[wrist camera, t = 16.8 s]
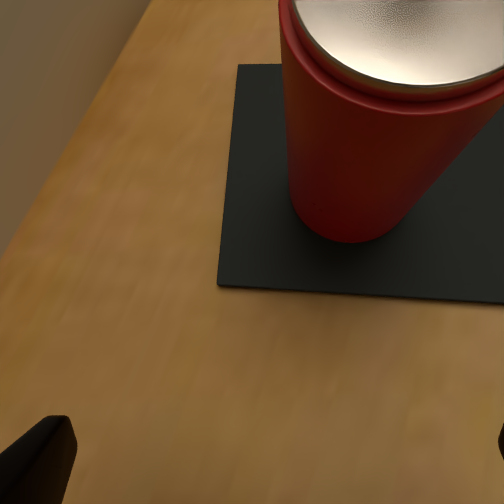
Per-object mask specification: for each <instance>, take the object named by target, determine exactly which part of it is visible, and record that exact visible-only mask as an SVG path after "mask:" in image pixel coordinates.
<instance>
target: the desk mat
mask: <svg viewBox="0 0 504 504" xmlns="http://www.w3.org/2000/svg"><path fill="white" fill-rule="evenodd" d="M217 285H219V286H232V287H247V288H263V289H278V290H293V291H309V292H324V293H340V294H355V295H371V296H386V297H401V298H417V299H432V300H448V301H463V302H479V303H494V304H504V105H503V106H502V107H501V108H500V109H499V110H498V111H497V112H496V114H495V115H494V116H493V117H492V118H491V119H490V120H489V121H488V123H487V124H486V125H485V126H484V127H483V128H482V129H481V130H480V132H479V133H478V134H477V135H476V136H475V137H474V138H473V139H472V141H471V142H470V143H469V144H468V145H467V146H466V147H465V148H464V150H463V151H462V152H461V153H460V154H459V155H458V156H457V157H456V159H455V160H454V161H453V162H452V163H451V164H450V165H449V166H448V168H447V169H446V170H445V171H444V172H443V173H442V174H441V175H440V177H439V178H438V179H437V180H436V181H435V182H434V183H433V184H432V186H431V187H430V188H429V189H428V190H427V191H426V192H425V193H424V195H423V196H422V197H421V198H420V199H419V200H418V201H417V202H416V204H415V205H414V206H413V207H412V208H411V209H410V210H409V211H408V213H407V214H406V215H405V216H404V217H403V218H402V219H401V220H400V221H399V223H398V224H397V225H396V226H395V227H393V228H392V229H391V230H390V231H388V232H387V233H385V234H384V235H382V236H380V237H378V238H375V239H372V240H369V241H365V242H359V243H344V242H338V241H333V240H330V239H327V238H325V237H323V236H321V235H319V234H317V233H316V232H314V231H312V230H311V229H310V228H309V227H308V226H306V224H305V223H304V222H303V221H302V220H301V219H300V217H299V216H298V215H297V213H296V211H295V209H294V207H293V205H292V202H291V198H290V193H289V179H288V162H287V145H286V128H285V111H284V94H283V77H282V64H239V65H238V71H237V81H236V91H235V101H234V111H233V122H232V132H231V142H230V152H229V162H228V173H227V183H226V193H225V203H224V213H223V223H222V234H221V244H220V254H219V264H218V274H217Z"/></svg>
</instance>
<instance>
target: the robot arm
mask: <svg viewBox="0 0 504 504" xmlns="http://www.w3.org/2000/svg"><path fill="white" fill-rule="evenodd" d="M498 445H499V449H500V452H501V455H502V457H503V459H504V424H503V427H502V429H501V432H500V435H499V438H498ZM76 454H77V440H76V437H75V434H74V430H73V427H72V424H71V421H70V419H69V417H67V416H65V415H51V416H47V417H45V418H43V419H42V420H41V421H40V422H38V423H37V424H36V425H35V426H33V427H32V428H31V429H30V430H29V431H27V432H26V433H25V434H24V435H23V436H21V437H20V438H19V439H18V440H16V441H15V442H14V443H13V444H12V445H10V446H9V447H8V448H7V449H5V450H4V451H3V452H2V453H1V454H0V504H62V501H63V497H64V494H65V491H66V487H67V484H68V481H69V477H70V474H71V471H72V467H73V464H74V461H75V457H76Z"/></svg>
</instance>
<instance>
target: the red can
mask: <svg viewBox="0 0 504 504" xmlns="http://www.w3.org/2000/svg"><path fill="white" fill-rule="evenodd" d="M278 8H279V26H280V43H281V60H282V77H283V94H284V111H285V128H286V145H287V162H288V179H289V193H290V198H291V202H292V205H293V207H294V209H295V211H296V213H297V215H298V216H299V217H300V219H301V220H302V221H303V222H304V223H305V224H306V226H308V227H309V228H310V229H311V230H312V231H314V232H316V233H317V234H319V235H321V236H323V237H325V238H327V239H330V240H333V241H338V242H344V243H359V242H365V241H369V240H372V239H375V238H378V237H380V236H382V235H384V234H385V233H387V232H388V231H390V230H391V229H392V228H393V227H395V226H396V225H397V224H398V223H399V221H400V220H401V219H402V218H403V217H404V216H405V215H406V214H407V213H408V211H409V210H410V209H411V208H412V207H413V206H414V205H415V204H416V202H417V201H418V200H419V199H420V198H421V197H422V196H423V195H424V193H425V192H426V191H427V190H428V189H429V188H430V187H431V186H432V184H433V183H434V182H435V181H436V180H437V179H438V178H439V177H440V175H441V174H442V173H443V172H444V171H445V170H446V169H447V168H448V166H449V165H450V164H451V163H452V162H453V161H454V160H455V159H456V157H457V156H458V155H459V154H460V153H461V152H462V151H463V150H464V148H465V147H466V146H467V145H468V144H469V143H470V142H471V141H472V139H473V138H474V137H475V136H476V135H477V134H478V133H479V132H480V130H481V129H482V128H483V127H484V126H485V125H486V124H487V123H488V121H489V120H490V119H491V118H492V117H493V116H494V115H495V114H496V112H497V111H498V110H499V109H500V108H501V107H502V106H503V105H504V0H279V2H278Z"/></svg>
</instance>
